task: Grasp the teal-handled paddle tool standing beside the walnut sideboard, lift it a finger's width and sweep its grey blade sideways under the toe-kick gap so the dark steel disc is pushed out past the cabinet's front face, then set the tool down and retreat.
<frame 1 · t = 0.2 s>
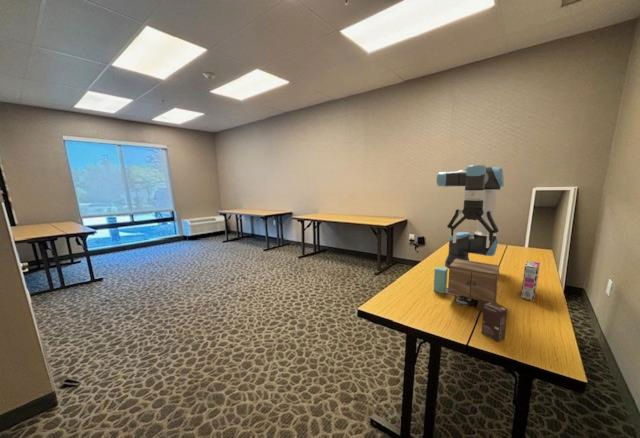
hand: (470, 244, 114), 27 cm above the table, fingers open, 13 cm apart
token: (463, 303, 114), on the table
tool: (440, 290, 128), on the table
cabinet: (471, 302, 115), on the table
candy bar box: (528, 296, 120), on the table
box: (492, 337, 89), on the table
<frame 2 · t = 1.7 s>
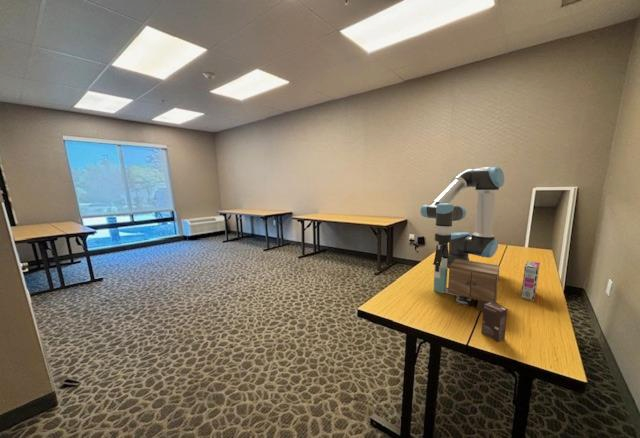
hand: (440, 273, 126), 9 cm above the table, fingers open, 13 cm apart
nothing on the table moved.
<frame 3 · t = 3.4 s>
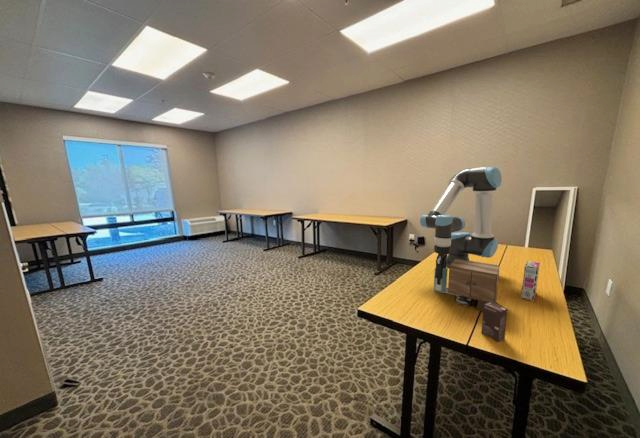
hand: (440, 288, 128), 1 cm above the table, fingers closed on tool, 5 cm apart
tool: (440, 290, 128), on the table, touching gripper
everything else where it was.
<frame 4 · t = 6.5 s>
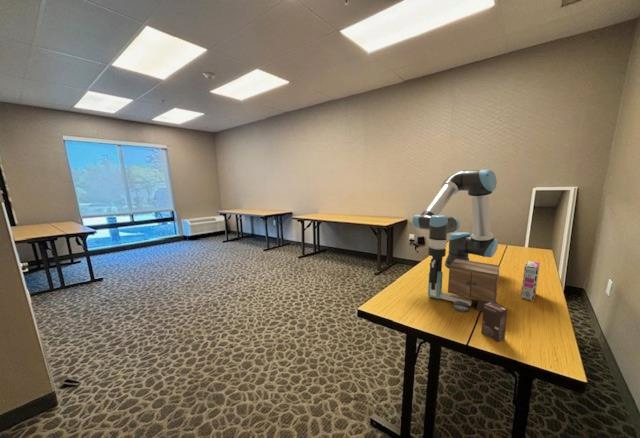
hand: (434, 293, 120), 2 cm above the table, fingers closed on tool, 5 cm apart
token: (461, 309, 109), on the table
tool: (434, 295, 120), point 1 cm above the table, touching gripper
everything else where it was.
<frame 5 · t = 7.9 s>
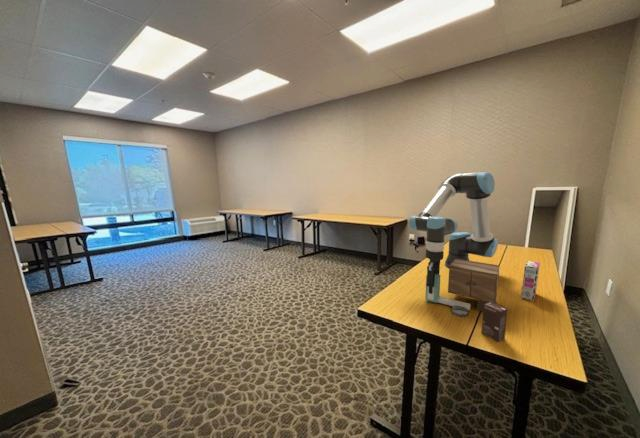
hand: (432, 296, 116), 2 cm above the table, fingers closed on tool, 5 cm apart
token: (459, 313, 106), on the table
tool: (432, 299, 116), point 1 cm above the table, touching gripper
everything else where it was.
when the fingers open (1 cm above the table, at t = 8.9 s): tool stays where it is, on the table.
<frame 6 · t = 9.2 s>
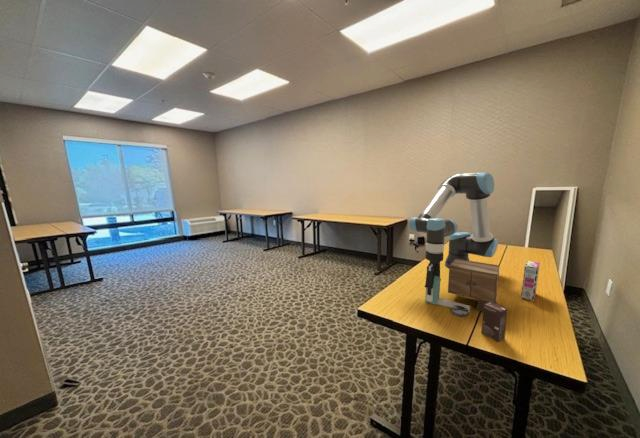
hand: (432, 296, 116), 2 cm above the table, fingers open, 9 cm apart
tool: (432, 301, 117), on the table
everything else where it was.
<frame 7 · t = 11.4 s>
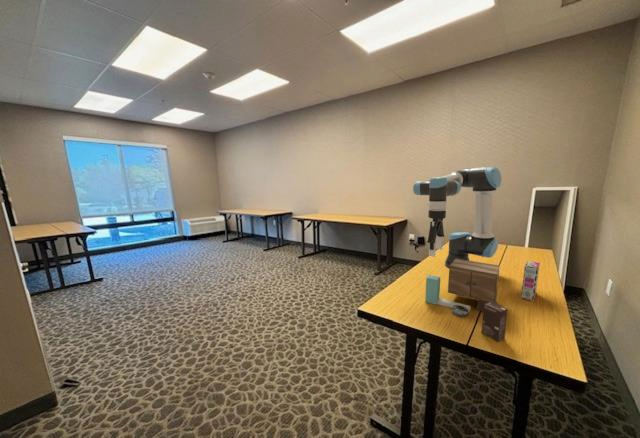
hand: (435, 252, 120), 22 cm above the table, fingers open, 13 cm apart
nothing on the table moved.
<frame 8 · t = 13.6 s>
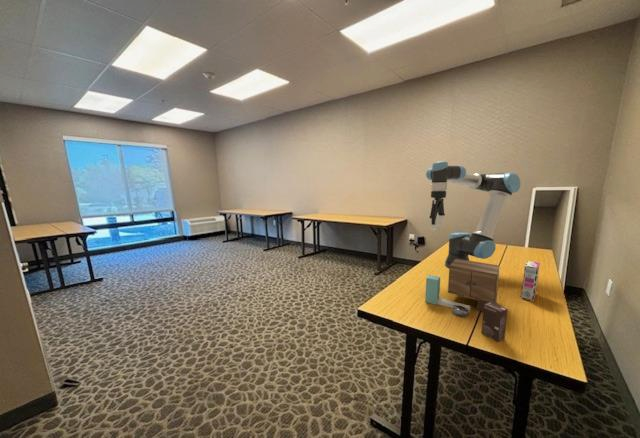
hand: (436, 228, 137), 31 cm above the table, fingers open, 13 cm apart
nothing on the table moved.
at the end: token inside the target area (5.0 cm from its centre), on the table; the gripper is holding nothing; tool on the table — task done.
